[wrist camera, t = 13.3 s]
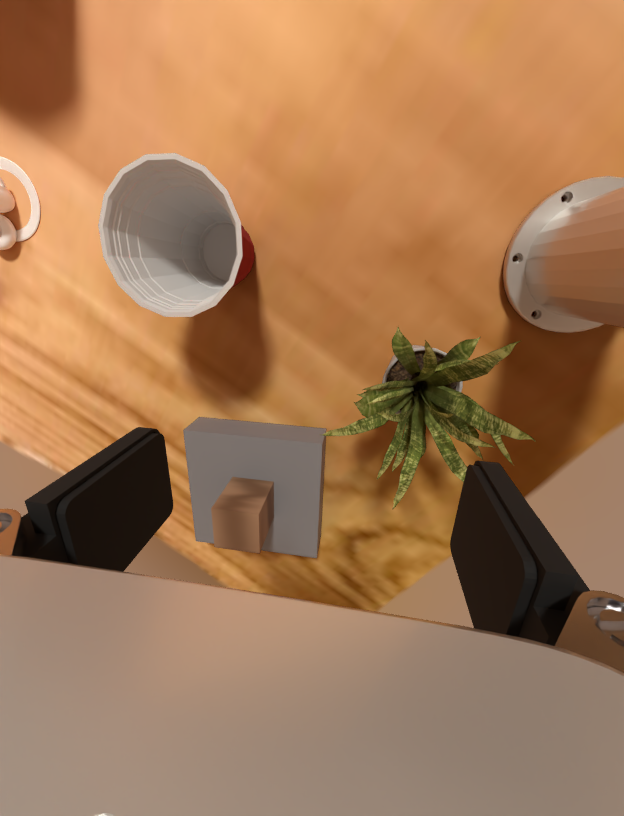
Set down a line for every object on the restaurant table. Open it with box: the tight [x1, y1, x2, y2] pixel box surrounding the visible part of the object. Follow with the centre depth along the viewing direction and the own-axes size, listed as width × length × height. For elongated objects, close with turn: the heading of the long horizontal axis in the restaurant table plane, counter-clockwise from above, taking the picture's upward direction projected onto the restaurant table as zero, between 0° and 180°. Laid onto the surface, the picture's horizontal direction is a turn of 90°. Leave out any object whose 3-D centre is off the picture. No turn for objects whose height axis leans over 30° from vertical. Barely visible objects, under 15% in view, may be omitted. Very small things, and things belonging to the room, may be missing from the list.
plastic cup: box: [98, 153, 254, 317], centre depth 30 cm, size 11×11×12 cm
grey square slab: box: [183, 417, 326, 558], centre depth 43 cm, size 16×16×4 cm
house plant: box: [322, 327, 535, 509], centre depth 30 cm, size 14×14×16 cm
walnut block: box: [211, 477, 274, 554], centre depth 38 cm, size 5×5×6 cm
